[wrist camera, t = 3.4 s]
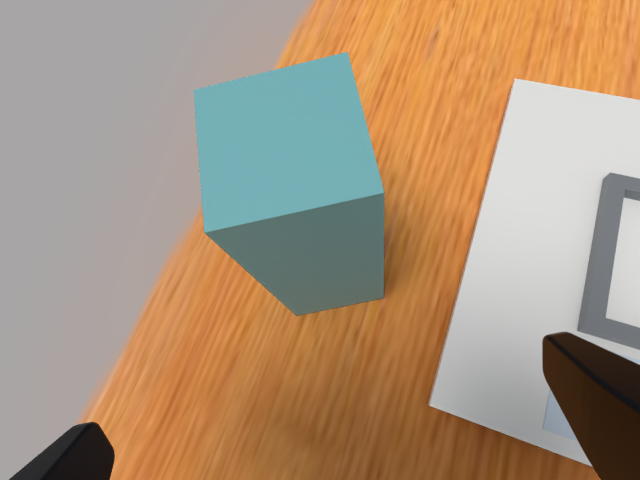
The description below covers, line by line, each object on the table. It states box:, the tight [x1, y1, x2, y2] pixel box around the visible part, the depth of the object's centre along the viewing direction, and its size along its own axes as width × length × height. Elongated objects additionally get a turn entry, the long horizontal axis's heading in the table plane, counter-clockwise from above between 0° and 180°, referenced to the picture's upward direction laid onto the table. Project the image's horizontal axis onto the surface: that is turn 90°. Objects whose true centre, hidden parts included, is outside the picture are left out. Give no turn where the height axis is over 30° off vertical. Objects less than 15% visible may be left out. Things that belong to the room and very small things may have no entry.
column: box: [194, 52, 384, 316], centre depth 18 cm, size 5×5×13 cm
